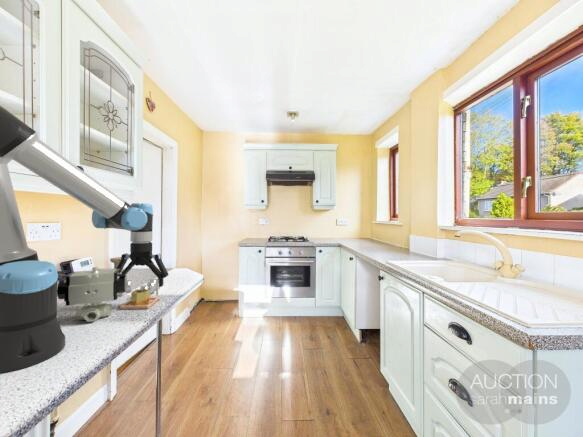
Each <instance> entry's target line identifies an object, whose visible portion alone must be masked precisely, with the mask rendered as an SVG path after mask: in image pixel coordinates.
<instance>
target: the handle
mask: <svg viewBox="0 0 583 437" xmlns="http://www.w3.org/2000/svg"><path fill="white" fill-rule="evenodd" d="M121 257H122V256H117V257H116V256H115V257H111V258H110V262H111V263H113V269H116V268H117V266H118V265H119V263H120V261H121ZM123 270H124V268H123V269H122V271H123ZM122 271H121V272H122Z"/></svg>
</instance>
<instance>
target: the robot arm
mask: <svg viewBox="0 0 583 437" xmlns="http://www.w3.org/2000/svg"><path fill="white" fill-rule="evenodd" d="M38 134H39V133H38V131H36V130H35V129H33V128H32V127H31V126H29V125H28V124H26V123H25V122H24V121H23V120H21V119H20V118H18V116H16V115H15V114H13V113H12V112H10V111H9V110H7V109H6V108H4V107H3V106H1V105H0V374H1V373H8V372H13V371H17V370H22V369H25V368H28V367H30V366H33V365H36V364H39V363H42V362H45V361H46V360H48V359H50V358H52V357H54V356H56V355H58V354H59V353H61V351H62V350H64V348H65V347H66V336H65V333H64V332H63V331H62V327H61V325H60V324H59V321H58V296H57V288H58V278H59V273H58V270H57V269H58V268H57V266H56V265H55V264H54V263H53V262H50V261H45V260H40V259H39V256H38V252H37V250H35V249H33V248H30V247H29V246H28V242H27V238H26V235H25V230H24V227H23V222H22V218H21V215H20V214H21V213H20V211H19V207H18V202H17V198H16V194H15V190H14V187H13V183H12V179H11V175H10V170H9V166H8V163H10V162H12V161H15V162H16V163H18V164H20V165H21V166H22V167H25V169H27V170H29V171H30V172H32V173H34V174H35V175H37V176H38V177H40V178H41V179H43V180H45V181H46V182H48V183H50V184H51V185H52V186H54V187H56V188H57V189H59V190H61V191H62V192H64V193H66V194H67V195H69V196H70V197H72V198H73V199H74V200H77V201H78V202H80V203H81V204H83V205H85V206H86V207H88V208H89V209H91V210H92V213H91V223H92V226H93V227H94V228H96V229H104V230H105V229H117V230H125V231H128V232H130V248H129V249H130V254H129V253H127V252H126V253H123V254H122V255H121V256H120V257H121V261H120V263H119V265H118V266H117V268H116V269H120V272H121V271H122V269H123V271H122V272H121V273H122V274H126V275H127V274H128V273H129V272H130V271H131V269H132V268H134V267H135V266H142V267H143V266H146V267H147V268H149V269H150V271H152V273H153V274H154V275H155V276H156V277H157V278H155V279H156V291H155V297H156V296H157V297H159V295H161V294H162V287H163V286H164V278H167V277H168V276H169V272H168V271H167V268H166V266H165V265H164V262H163V260H162V258H161V253H157V254H153V242H152V241H153V220H154V219H153V218H154V217H153V216H154V210H153V205H152V204H150V203H139V202H138V203H137V202H135V203H131V204H130V203H128V202H127V201H125V200H124V199H122V198H121V197H119V196H118V195H117V194H115V193H114V192H113V191H112V190H110V189H108V188H107V186H104V185H103V184H102V183H100V182H99V181H97V180H96V179H95V178H93V177H92V176H90V175H89V174H88V173H87V172H85V171H84V170H82V169H81V168H79V167H78V166H77V165H76V164H74V163H72V161H70V160H68V159H67V158H66V157H65V156H63V155H62V154H60V153H59V152H58V151H56V150H55V149H53V148H52V147H51V146H49V145H48V144H46V143H45V142H44V141H43V140H41V139H40V138H39V135H38ZM129 259H130V262H129V263H128V264H127V266H126V267H125V265H126V263H127V262H128V260H129ZM152 259H153V260H154V261H155V263H156V265H155V263H154V262H153V260H152ZM124 295H127V294H126V292H125V293H120V297H123V296H124Z"/></svg>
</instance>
